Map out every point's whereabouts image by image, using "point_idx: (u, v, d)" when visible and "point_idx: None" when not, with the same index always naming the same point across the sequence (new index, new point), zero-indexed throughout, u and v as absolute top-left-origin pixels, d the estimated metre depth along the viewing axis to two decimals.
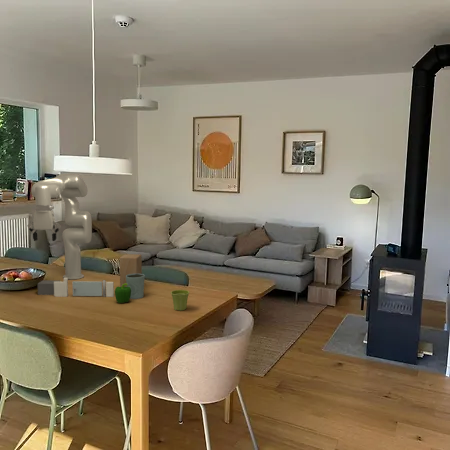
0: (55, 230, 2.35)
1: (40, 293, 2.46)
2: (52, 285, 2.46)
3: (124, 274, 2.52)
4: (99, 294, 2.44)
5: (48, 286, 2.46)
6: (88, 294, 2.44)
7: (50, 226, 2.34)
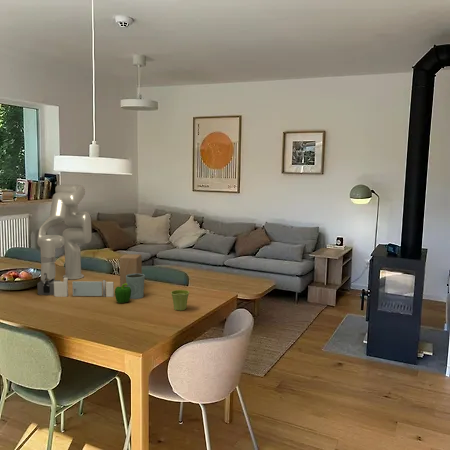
0: None
1: (40, 293, 2.46)
2: (51, 285, 2.45)
3: (124, 274, 2.53)
4: (99, 294, 2.44)
5: None
6: (88, 294, 2.44)
7: None
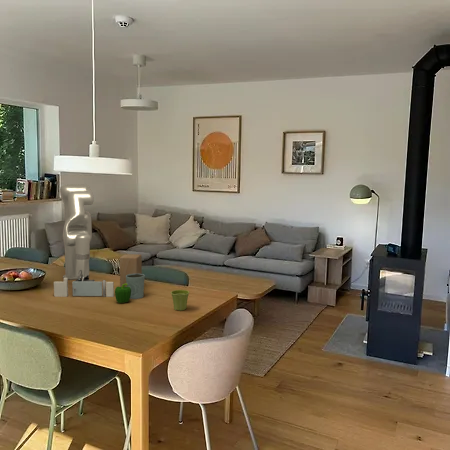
0: (87, 274, 2.57)
1: None
2: None
3: (124, 274, 2.53)
4: (99, 294, 2.44)
5: None
6: (88, 294, 2.44)
7: None
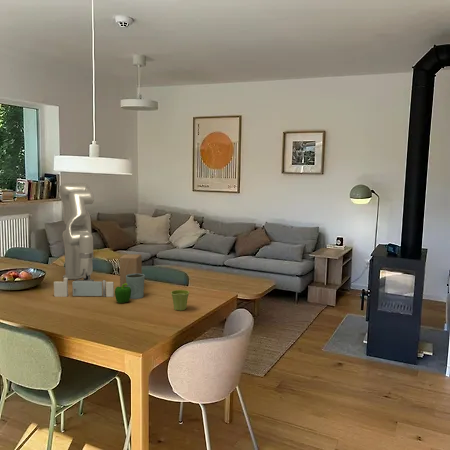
0: None
1: None
2: None
3: (124, 274, 2.53)
4: (99, 294, 2.44)
5: None
6: (88, 294, 2.44)
7: (92, 269, 2.62)
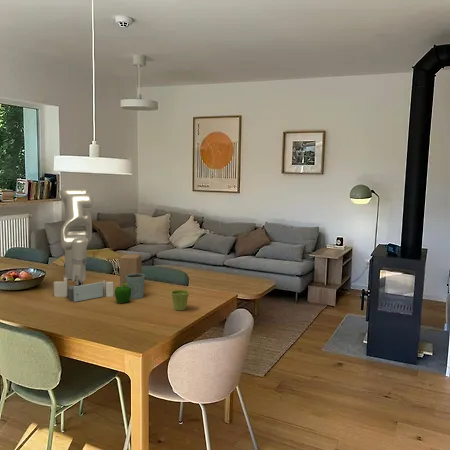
0: None
1: (72, 299, 2.35)
2: None
3: (124, 274, 2.53)
4: (100, 295, 2.42)
5: None
6: (90, 297, 2.38)
7: (85, 275, 2.50)
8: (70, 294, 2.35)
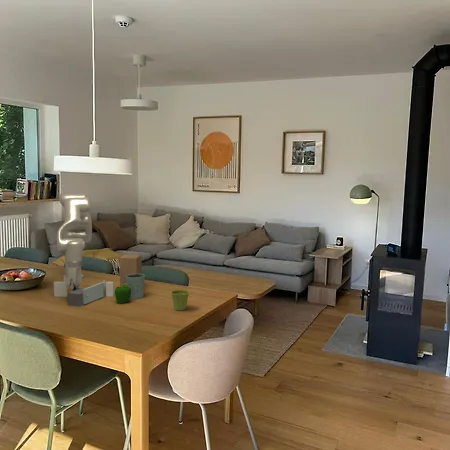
0: None
1: (81, 304, 2.28)
2: None
3: (124, 274, 2.52)
4: (102, 295, 2.42)
5: None
6: (95, 298, 2.36)
7: (81, 279, 2.40)
8: (80, 299, 2.27)
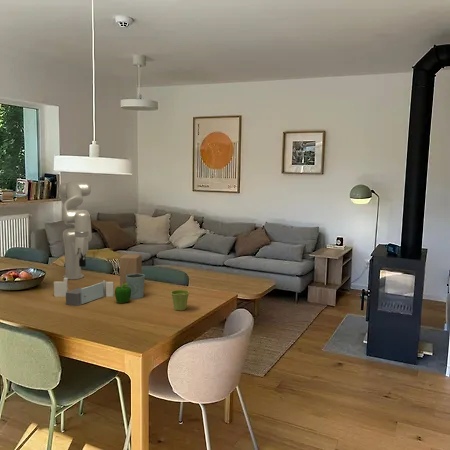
0: None
1: (79, 303, 2.28)
2: None
3: (124, 274, 2.53)
4: (101, 295, 2.42)
5: None
6: (94, 298, 2.36)
7: None
8: (78, 299, 2.27)
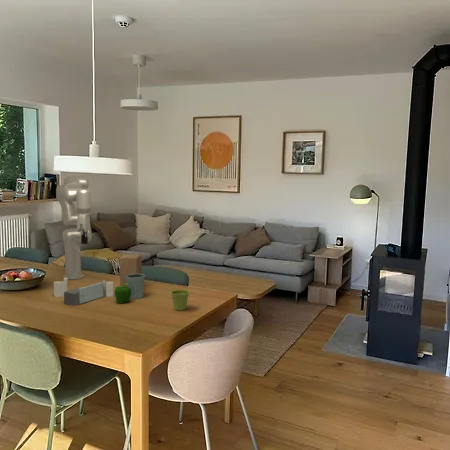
0: None
1: (76, 303, 2.29)
2: None
3: (124, 274, 2.53)
4: (101, 295, 2.42)
5: None
6: (93, 298, 2.37)
7: (89, 226, 2.55)
8: (75, 298, 2.28)
